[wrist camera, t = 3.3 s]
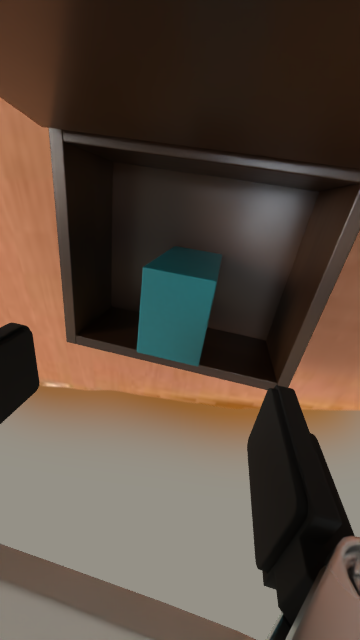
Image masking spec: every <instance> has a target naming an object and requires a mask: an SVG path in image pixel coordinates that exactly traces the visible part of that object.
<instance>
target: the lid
mask: <svg viewBox="0 0 360 640" xmlns="http://www.w3.org/2000/svg"><path fill="white" fill-rule="evenodd" d="M0 97H1V98H2V99H4V100H5V101H6V102H8V103H9V104H11V105H12V106H13V107H15V108H16V109H18V110H19V111H20V112H22V113H23V114H25V115H26V116H27V117H29V118H30V119H32V120H33V121H34V122H36V123H37V124H38V125H40V126H41V127H47V128H55V129H62V130H70V131H78V132H85V133H93V134H100V135H108V136H115V137H123V138H130V139H138V140H145V141H153V142H161V143H168V144H176V145H183V146H191V147H198V148H206V149H213V150H221V151H229V152H236V153H244V154H251V155H259V156H266V157H274V158H281V159H289V160H296V161H304V162H312V163H319V164H327V165H334V166H342V167H349V168H357V169H360V0H0Z"/></svg>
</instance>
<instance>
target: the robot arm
mask: <svg viewBox="0 0 360 640" xmlns="http://www.w3.org/2000/svg"><path fill="white" fill-rule="evenodd" d="M38 387H39V377H38V370H37V363H36V356H35V349H34V342H33V335H32V332H31V331H30V329H29V328H28V327H27V326H25V325H20V324H16V323H9V324H7V325H5V326H3V327H1V328H0V424H1V423H2V422H3V421H4V420H5V419H6V418H7V417H8V416H10V415H11V414H12V413H13V412H14V411H15V410H16V409H17V408H18V407H19V406H20V405H22V404H23V403H24V402H25V401H26V400H27V399H28V398H29V397H30V396H31V395H32V394H34V393H35V392H36V391H37V389H38ZM247 451H248V464H249V476H250V491H251V505H252V517H253V532H254V546H255V559H256V565H257V568H258V569H260V570H262V571H263V582H264V586H267V587H270V588H273V589H276V590H277V599H278V607H279V608H280V610H281V611H282V612H281V614H280V615H279V618H278V619H277V621H276V623H275V625H274V626H273V628H272V630H271V632H270V634H269V636H268V637H267V639H266V640H360V537H355V536H354V533H353V531H352V528H351V525H350V523H349V520H348V518H347V515H346V512H345V510H344V508H343V505H342V502H341V500H340V497H339V494H338V492H337V489H336V487H335V484H334V481H333V479H332V476H331V474H330V471H329V469H328V466H327V463H326V461H325V458H324V456H323V453H322V450H321V448H320V445H319V443H318V440H317V438H316V437H315V436H314V435H313V434H311V433H310V432H309V429H308V427H307V424H306V421H305V418H304V416H303V413H302V410H301V407H300V405H299V402H298V399H297V396H296V394H295V391H294V390H293V389H291V388H287V387H283V386H278V385H276V386H275V387H274V388H269V389H268V391H267V393H266V396H265V398H264V401H263V403H262V406H261V409H260V412H259V414H258V416H257V419H256V421H255V424H254V426H253V429H252V431H251V434H250V436H249V439H248V445H247ZM0 640H256V639H253V638H251V637H249V636H247V635H245V634H243V633H240V632H238V631H236V630H233V629H231V628H228V627H225V626H223V625H220V624H218V623H215V622H213V621H210V620H207V619H205V618H202V617H200V616H197V615H194V614H192V613H189V612H187V611H184V610H182V609H179V608H176V607H174V606H171V605H169V604H166V603H163V602H161V601H158V600H155V599H152V598H150V597H147V596H144V595H141V594H138V593H136V592H133V591H130V590H127V589H124V588H122V587H119V586H116V585H113V584H111V583H108V582H105V581H103V580H100V579H97V578H94V577H91V576H89V575H86V574H83V573H80V572H78V571H75V570H72V569H69V568H66V567H64V566H61V565H58V564H55V563H53V562H50V561H47V560H44V559H41V558H38V557H36V556H33V555H30V554H27V553H24V552H22V551H19V550H16V549H13V548H10V547H8V546H5V545H2V544H0Z"/></svg>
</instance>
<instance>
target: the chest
mask: <svg viewBox="0 0 360 640" xmlns="http://www.w3.org/2000/svg"><path fill="white" fill-rule="evenodd" d="M49 138H50V149H51V161H52V173H53V185H54V196H55V208H56V220H57V232H58V244H59V255H60V267H61V279H62V291H63V302H64V314H65V326H66V338H67V342H70V343H74V344H78V345H83V346H87V347H91V348H95V349H99V350H103V351H108V352H112V353H116V354H120V355H124V356H128V357H132V358H137V359H141V360H145V361H149V362H153V363H157V364H162V365H166V366H170V367H174V368H178V369H182V370H186V371H191V372H195V373H199V374H203V375H207V376H211V377H216V378H220V379H224V380H228V381H232V382H236V383H240V384H245V385H249V386H253V387H257V388H261V389H265V390H268V389H269V388H274V387H275V386H276V385H278V386H283V387H287V388H288V387H289V385H290V382H291V380H292V378H293V376H294V374H295V371H296V369H297V367H298V365H299V363H300V360H301V358H302V356H303V354H304V352H305V349H306V347H307V345H308V343H309V341H310V338H311V336H312V334H313V332H314V329H315V327H316V325H317V323H318V321H319V318H320V316H321V314H322V312H323V310H324V307H325V305H326V303H327V301H328V299H329V296H330V294H331V292H332V290H333V288H334V285H335V283H336V281H337V279H338V277H339V274H340V272H341V270H342V268H343V266H344V263H345V261H346V259H347V257H348V255H349V252H350V250H351V248H352V246H353V244H354V241H355V239H356V237H357V235H358V233H359V230H360V169H357V168H349V167H342V166H334V165H327V164H319V163H312V162H304V161H296V160H289V159H281V158H274V157H266V156H259V155H251V154H244V153H236V152H229V151H221V150H213V149H206V148H198V147H191V146H183V145H176V144H168V143H161V142H153V141H145V140H138V139H130V138H123V137H115V136H108V135H100V134H93V133H85V132H78V131H70V130H62V129H55V128H49ZM174 246H178V247H183V248H189V249H194V250H200V251H205V252H211V253H216V254H222V260H221V265H220V270H219V275H218V280H217V285H216V290H215V294H214V299H213V303H212V308H211V312H210V317H209V321H208V326H207V330H206V335H205V339H204V344H203V349H202V353H201V358H200V362H199V366H193V365H189V364H185V363H180V362H176V361H172V360H168V359H164V358H159V357H155V356H151V355H147V354H143V353H138V352H137V341H138V327H139V313H140V299H141V285H142V272H143V267H144V266H145V265H147V264H148V263H150V262H152V261H153V260H155V259H156V258H158V257H159V256H161V255H162V254H164V253H165V252H167V251H168V250H170V249H171V248H173V247H174Z"/></svg>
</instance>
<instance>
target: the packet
mask: <svg viewBox="0 0 360 640" xmlns="http://www.w3.org/2000/svg"><path fill="white" fill-rule="evenodd" d="M221 260H222V254H216V253H211V252H205V251H200V250H194V249H189V248H183V247H178V246H174V247H173V248H171V249H170V250H168V251H167V252H165V253H164V254H162V255H161V256H159V257H158V258H156V259H155V260H153V261H152V262H150V263H148V264H147V265H145V266H144V267H143V272H142V285H141V299H140V313H139V327H138V341H137V352H138V353H143V354H147V355H151V356H155V357H159V358H164V359H168V360H172V361H176V362H180V363H185V364H189V365H193V366H199V362H200V358H201V353H202V349H203V344H204V339H205V335H206V330H207V326H208V321H209V317H210V312H211V308H212V303H213V299H214V294H215V290H216V285H217V280H218V275H219V270H220V265H221Z"/></svg>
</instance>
